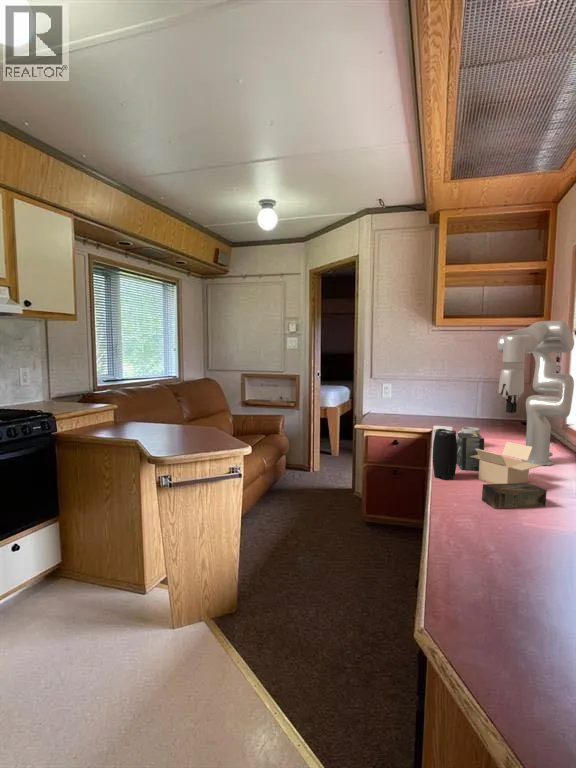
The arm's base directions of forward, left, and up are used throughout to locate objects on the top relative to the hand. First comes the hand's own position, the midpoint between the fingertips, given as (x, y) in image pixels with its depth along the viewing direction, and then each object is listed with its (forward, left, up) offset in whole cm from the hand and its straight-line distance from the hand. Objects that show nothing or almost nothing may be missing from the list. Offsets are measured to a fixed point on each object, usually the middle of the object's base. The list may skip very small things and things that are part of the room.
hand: (511, 412), depth 162 cm
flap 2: (-5, 0, -16) cm, 17 cm away
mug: (-36, -45, -28) cm, 64 cm away
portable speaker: (+20, -15, -28) cm, 37 cm away
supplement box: (-5, -36, -28) cm, 46 cm away
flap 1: (+12, 0, -17) cm, 20 cm away
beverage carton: (+23, +16, -28) cm, 40 cm away
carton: (+3, 0, -28) cm, 28 cm away
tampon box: (-2, -19, -28) cm, 34 cm away
